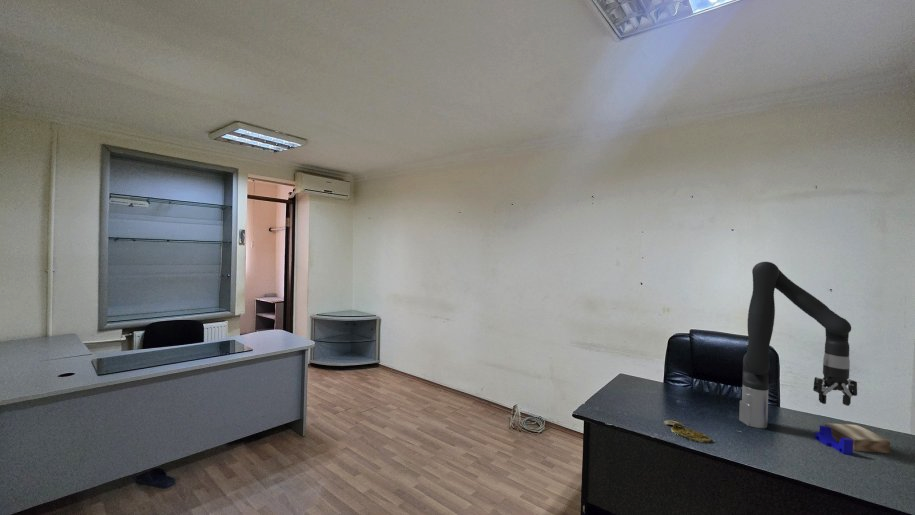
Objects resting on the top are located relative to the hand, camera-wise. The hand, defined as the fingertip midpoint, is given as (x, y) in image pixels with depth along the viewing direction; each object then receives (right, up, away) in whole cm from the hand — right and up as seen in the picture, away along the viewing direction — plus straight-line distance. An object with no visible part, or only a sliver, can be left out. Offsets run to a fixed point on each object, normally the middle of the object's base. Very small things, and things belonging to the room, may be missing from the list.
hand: (834, 404), depth 149 cm
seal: (-56, -16, +5) cm, 59 cm away
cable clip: (-2, -17, -1) cm, 17 cm away
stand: (+11, -17, +2) cm, 20 cm away
